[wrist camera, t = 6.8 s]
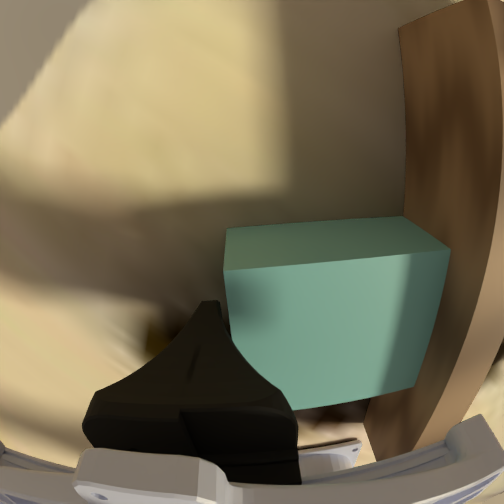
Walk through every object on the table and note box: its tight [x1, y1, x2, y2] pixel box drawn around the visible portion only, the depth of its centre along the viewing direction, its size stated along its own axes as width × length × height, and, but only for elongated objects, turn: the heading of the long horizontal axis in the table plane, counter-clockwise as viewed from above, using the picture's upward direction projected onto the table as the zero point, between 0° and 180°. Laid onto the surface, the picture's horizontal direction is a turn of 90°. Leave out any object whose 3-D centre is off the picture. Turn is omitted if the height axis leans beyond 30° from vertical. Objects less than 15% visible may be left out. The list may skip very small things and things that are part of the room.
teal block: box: [223, 216, 451, 410], centre depth 13 cm, size 7×8×4 cm
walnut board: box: [363, 0, 504, 462], centre depth 12 cm, size 24×2×6 cm, turn 4°
